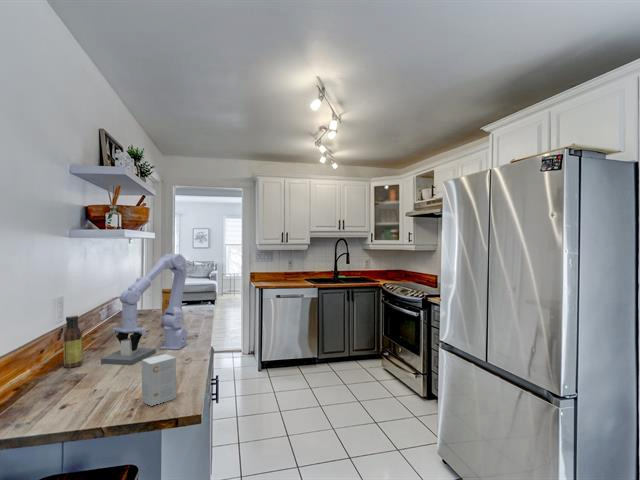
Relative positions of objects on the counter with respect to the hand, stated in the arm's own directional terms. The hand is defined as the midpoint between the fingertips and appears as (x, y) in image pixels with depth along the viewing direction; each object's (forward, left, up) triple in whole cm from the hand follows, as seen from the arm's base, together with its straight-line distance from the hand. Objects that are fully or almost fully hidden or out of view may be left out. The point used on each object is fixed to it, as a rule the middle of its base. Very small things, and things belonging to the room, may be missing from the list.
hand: (129, 350), depth 152 cm
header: (0, 0, -3) cm, 3 cm away
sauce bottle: (+16, +12, -4) cm, 20 cm away
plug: (0, 0, -3) cm, 3 cm away
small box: (-37, +36, -4) cm, 52 cm away
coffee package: (+17, -61, -4) cm, 63 cm away
